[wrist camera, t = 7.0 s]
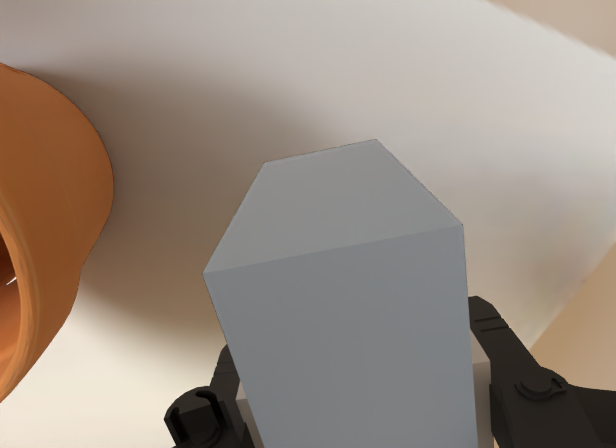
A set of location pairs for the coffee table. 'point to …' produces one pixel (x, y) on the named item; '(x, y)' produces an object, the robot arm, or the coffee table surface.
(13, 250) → the flower pot
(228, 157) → the coffee table surface
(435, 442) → the blue-gray rectangular block
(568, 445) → the robot arm
